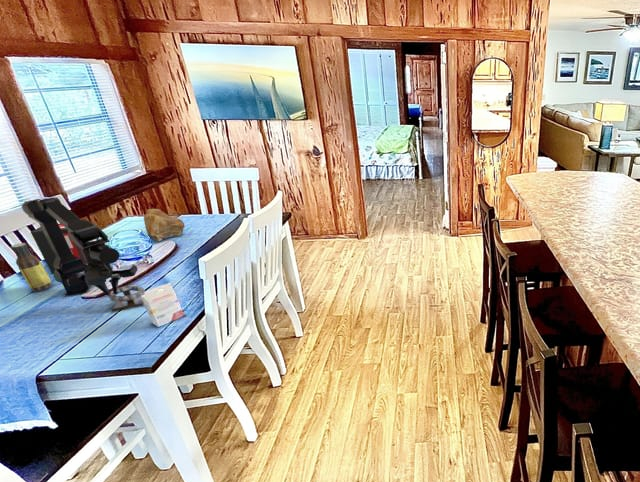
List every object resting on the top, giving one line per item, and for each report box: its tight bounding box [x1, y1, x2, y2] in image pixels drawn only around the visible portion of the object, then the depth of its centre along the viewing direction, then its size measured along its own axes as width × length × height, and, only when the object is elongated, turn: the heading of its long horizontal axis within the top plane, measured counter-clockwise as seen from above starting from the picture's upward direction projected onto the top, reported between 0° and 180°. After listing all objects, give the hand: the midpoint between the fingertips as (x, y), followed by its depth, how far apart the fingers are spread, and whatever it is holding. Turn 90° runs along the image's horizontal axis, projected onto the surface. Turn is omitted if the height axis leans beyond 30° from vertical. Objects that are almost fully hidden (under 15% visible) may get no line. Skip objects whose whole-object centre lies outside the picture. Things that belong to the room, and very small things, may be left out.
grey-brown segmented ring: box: [107, 284, 146, 302], centre depth 151 cm, size 10×10×2 cm
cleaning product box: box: [30, 220, 100, 274], centre depth 174 cm, size 16×9×20 cm, turn 108°
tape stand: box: [111, 288, 145, 312], centre depth 151 cm, size 9×9×6 cm
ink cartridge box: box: [141, 282, 185, 328], centre depth 140 cm, size 9×5×15 cm, turn 148°
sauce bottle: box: [10, 242, 53, 292], centre depth 156 cm, size 6×6×20 cm
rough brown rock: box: [143, 208, 186, 242], centre depth 208 cm, size 23×17×15 cm
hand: (112, 294), depth 148 cm, fingers closed on grey-brown segmented ring, 2 cm apart
